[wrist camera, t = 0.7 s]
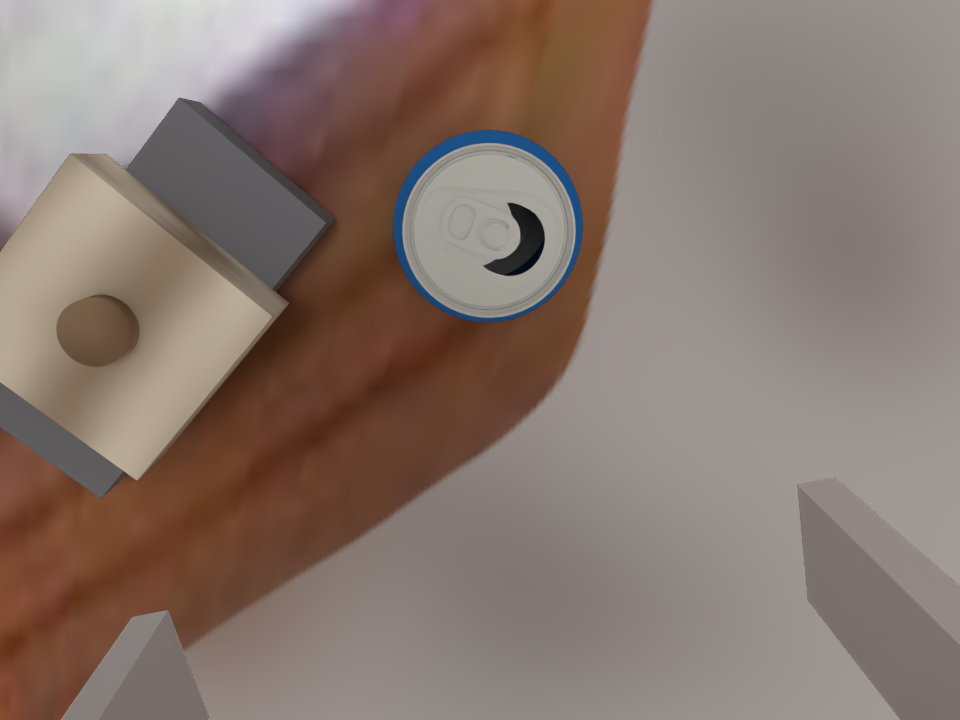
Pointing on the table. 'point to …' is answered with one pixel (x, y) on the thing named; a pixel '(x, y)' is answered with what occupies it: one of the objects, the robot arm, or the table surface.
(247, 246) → the gray rectangular block
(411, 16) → the table surface
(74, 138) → the table surface
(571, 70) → the table surface
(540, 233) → the beverage can
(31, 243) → the lid
